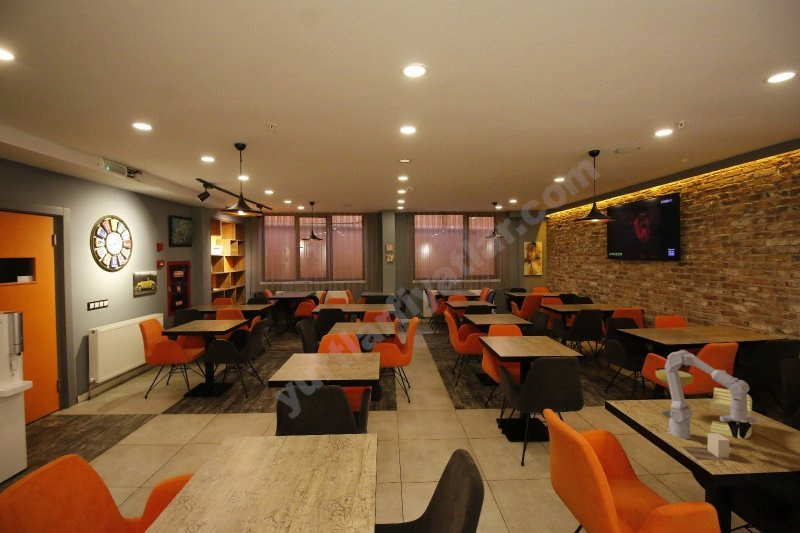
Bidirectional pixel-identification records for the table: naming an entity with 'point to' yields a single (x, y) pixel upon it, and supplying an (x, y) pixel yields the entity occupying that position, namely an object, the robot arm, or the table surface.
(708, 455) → the brown flat slab
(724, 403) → the slatted curved stool
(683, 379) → the cocktail glass
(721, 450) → the carton
